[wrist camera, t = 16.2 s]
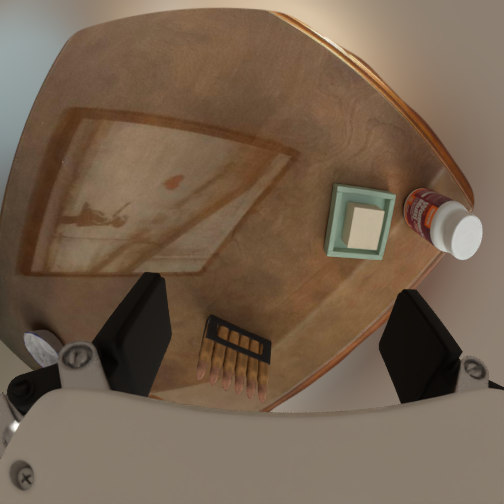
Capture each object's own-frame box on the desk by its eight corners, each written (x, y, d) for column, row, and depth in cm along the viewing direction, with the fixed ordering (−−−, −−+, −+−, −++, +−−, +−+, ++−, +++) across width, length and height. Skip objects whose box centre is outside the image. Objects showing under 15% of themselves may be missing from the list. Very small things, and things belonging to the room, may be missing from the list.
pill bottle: (400, 190, 31) (448, 214, 21) (435, 184, 30) (487, 206, 20) (403, 233, 33) (445, 270, 23) (436, 225, 33) (482, 257, 22)
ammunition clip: (271, 341, 42) (272, 401, 31) (265, 348, 42) (264, 408, 31) (210, 314, 40) (194, 373, 29) (205, 322, 41) (188, 380, 30)
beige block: (347, 201, 32) (354, 207, 29) (375, 204, 32) (385, 211, 29) (341, 238, 34) (347, 247, 31) (368, 241, 34) (376, 250, 31)
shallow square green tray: (333, 182, 31) (337, 185, 30) (389, 191, 31) (396, 194, 29) (323, 249, 35) (326, 256, 33) (376, 253, 35) (382, 260, 33)
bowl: (49, 359, 50) (40, 371, 46) (26, 319, 45) (15, 330, 41) (82, 366, 49) (73, 380, 45) (57, 322, 44) (45, 336, 40)
